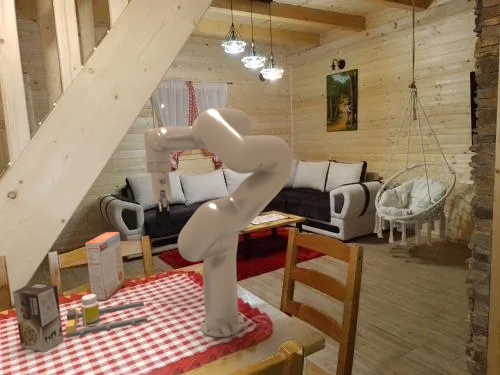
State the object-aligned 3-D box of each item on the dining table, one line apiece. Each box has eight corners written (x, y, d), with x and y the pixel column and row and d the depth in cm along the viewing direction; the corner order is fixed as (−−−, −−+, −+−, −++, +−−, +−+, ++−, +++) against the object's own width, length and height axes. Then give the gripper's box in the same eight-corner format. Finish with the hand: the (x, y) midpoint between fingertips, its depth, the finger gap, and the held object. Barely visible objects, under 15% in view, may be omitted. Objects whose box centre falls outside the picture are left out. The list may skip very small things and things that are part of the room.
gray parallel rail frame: (147, 322, 110) (147, 319, 110) (66, 339, 103) (66, 336, 103) (143, 302, 124) (143, 299, 124) (71, 316, 117) (71, 313, 117)
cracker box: (110, 284, 141) (105, 231, 138) (125, 284, 140) (120, 231, 138) (90, 300, 128) (84, 242, 125) (106, 301, 127) (100, 242, 124)
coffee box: (64, 339, 103) (58, 284, 101) (45, 353, 97) (37, 294, 95) (39, 335, 106) (33, 281, 104) (19, 347, 100) (11, 291, 98)
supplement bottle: (103, 320, 113) (100, 294, 112) (91, 328, 109) (88, 301, 108) (92, 317, 115) (89, 292, 114) (79, 325, 111) (76, 298, 110)
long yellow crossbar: (74, 335, 105) (73, 320, 104) (66, 336, 104) (65, 322, 104) (78, 316, 116) (76, 303, 115) (71, 318, 115) (69, 304, 115)
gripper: (175, 168, 110) (179, 224, 112) (167, 165, 126) (170, 214, 128) (149, 170, 107) (154, 227, 110) (144, 166, 123) (148, 216, 126)
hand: (163, 220), depth 119 cm, fingers open, 9 cm apart
